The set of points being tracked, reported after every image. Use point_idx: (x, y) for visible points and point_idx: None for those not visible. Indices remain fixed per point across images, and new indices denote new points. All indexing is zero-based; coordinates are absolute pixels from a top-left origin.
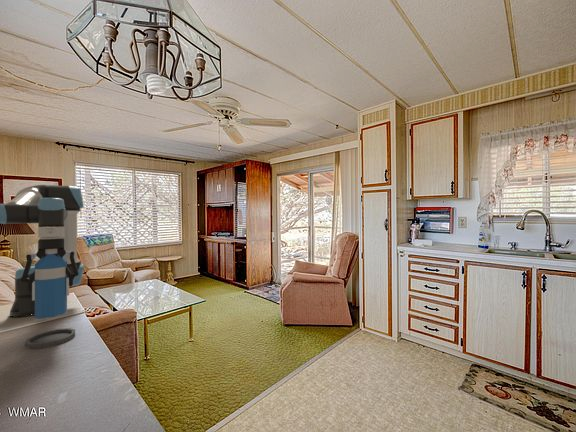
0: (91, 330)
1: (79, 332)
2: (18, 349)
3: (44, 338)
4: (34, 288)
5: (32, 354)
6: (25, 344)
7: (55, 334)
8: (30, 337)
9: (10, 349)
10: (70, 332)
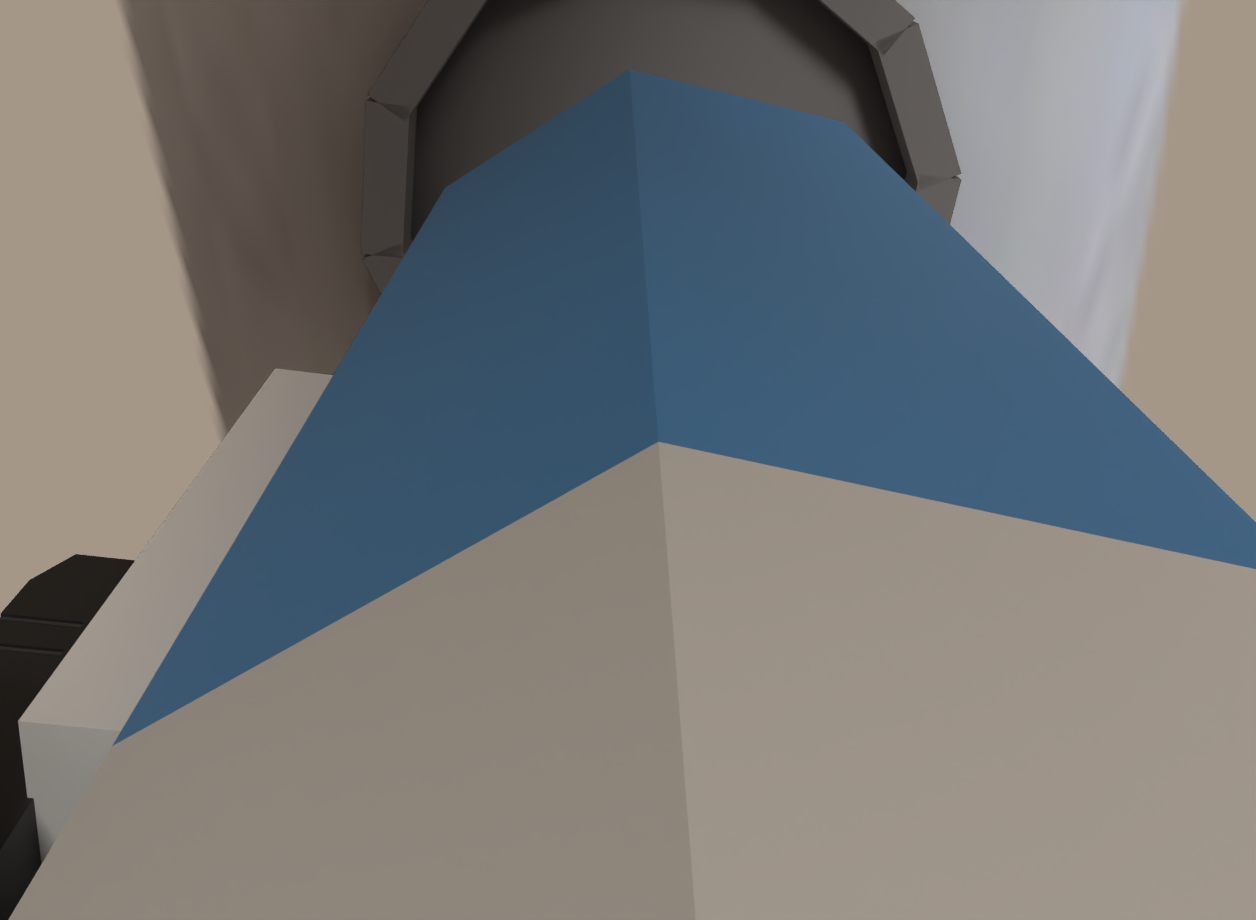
0: (1144, 194)
1: (1000, 149)
2: (313, 256)
3: (576, 96)
4: None
5: None
6: (373, 268)
7: (715, 12)
8: (401, 44)
9: (220, 173)
10: (895, 133)
